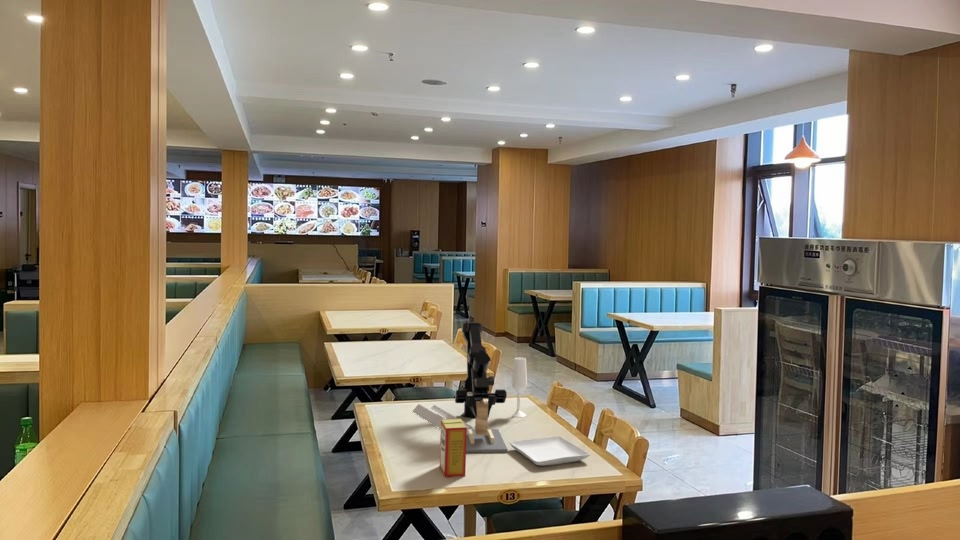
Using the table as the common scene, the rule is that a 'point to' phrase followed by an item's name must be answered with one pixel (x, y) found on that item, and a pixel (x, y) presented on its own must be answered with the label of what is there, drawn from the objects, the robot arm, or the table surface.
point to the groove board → (485, 442)
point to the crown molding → (434, 415)
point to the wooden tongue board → (481, 417)
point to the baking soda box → (453, 447)
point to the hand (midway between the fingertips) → (482, 417)
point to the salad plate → (549, 450)
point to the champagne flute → (519, 382)
